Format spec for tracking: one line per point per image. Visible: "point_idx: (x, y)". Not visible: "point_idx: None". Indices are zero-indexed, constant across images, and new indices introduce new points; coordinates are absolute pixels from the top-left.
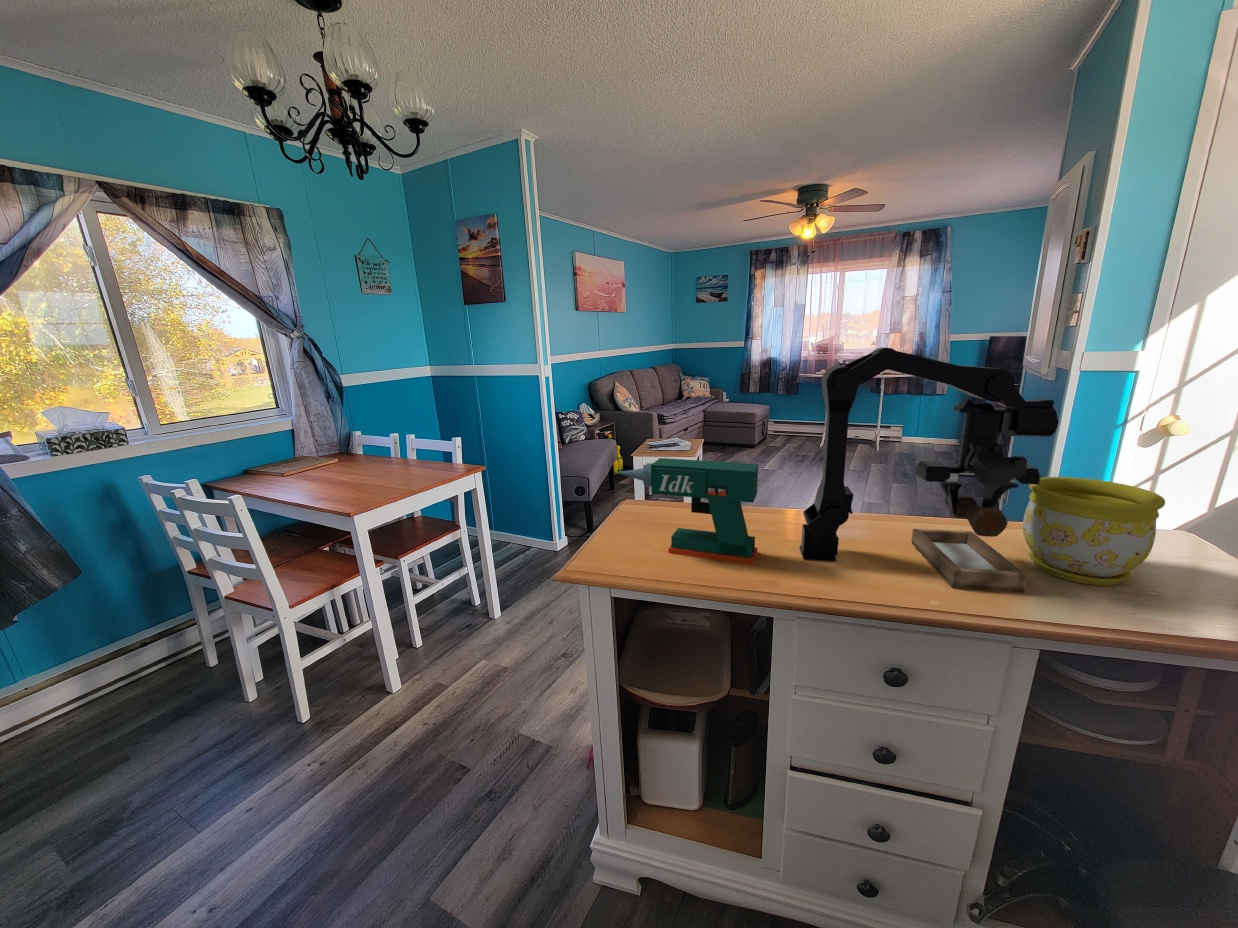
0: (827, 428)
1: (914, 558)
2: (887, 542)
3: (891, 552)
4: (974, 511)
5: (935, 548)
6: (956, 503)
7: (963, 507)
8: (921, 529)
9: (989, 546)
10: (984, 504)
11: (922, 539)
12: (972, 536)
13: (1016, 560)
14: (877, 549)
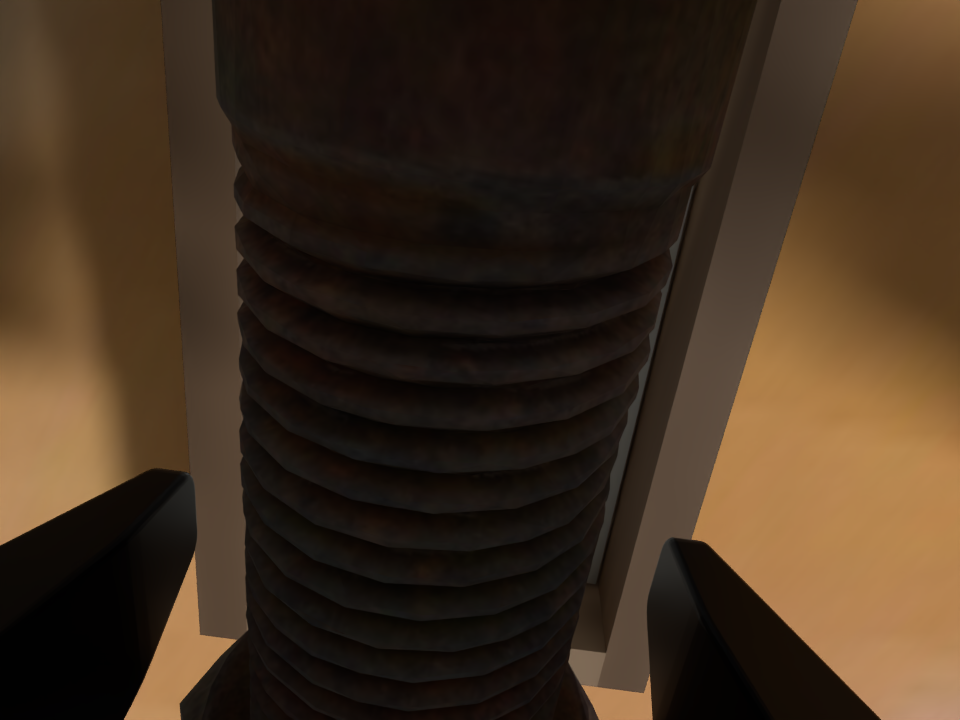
0: None
1: (773, 363)
2: (790, 613)
3: (883, 463)
4: (648, 220)
5: (733, 311)
6: (771, 702)
7: (560, 626)
8: (581, 679)
9: (193, 355)
10: (102, 684)
11: (693, 517)
12: (238, 550)
13: (14, 331)
14: (956, 512)
